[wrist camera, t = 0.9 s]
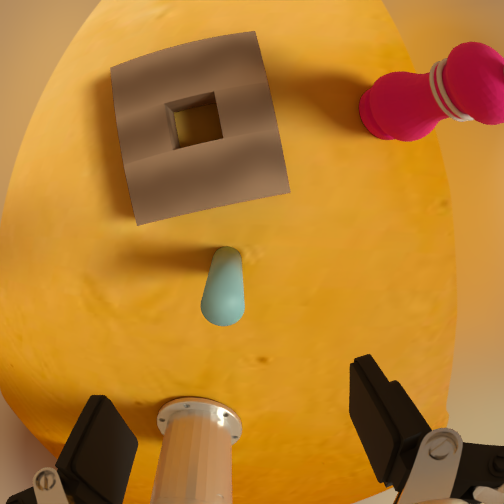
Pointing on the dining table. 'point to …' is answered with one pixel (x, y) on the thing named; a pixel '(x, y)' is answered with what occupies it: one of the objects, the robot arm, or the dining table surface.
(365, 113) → the pepper mill
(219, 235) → the dining table surface
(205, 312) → the teal peg
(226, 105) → the walnut hole block
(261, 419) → the dining table surface
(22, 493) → the robot arm
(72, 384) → the dining table surface
